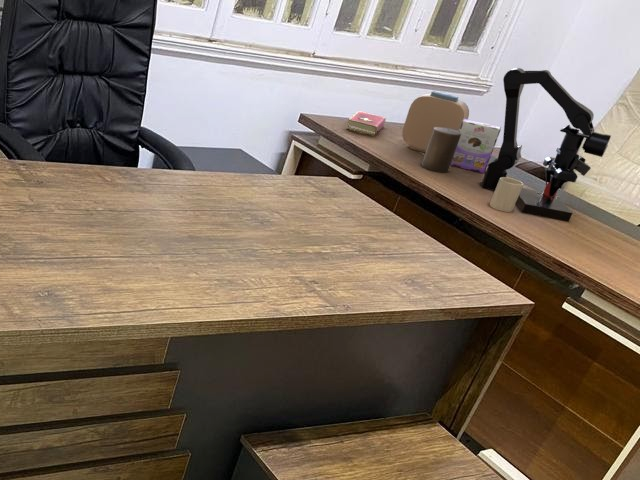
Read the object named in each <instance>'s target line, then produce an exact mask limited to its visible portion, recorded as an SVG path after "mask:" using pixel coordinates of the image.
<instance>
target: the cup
mask: <svg viewBox="0 0 640 480" xmlns="http://www.w3.org/2000/svg"><path fill="white" fill-rule="evenodd" d="M522 188H524V182H523V181H521V180H519V179H516V178H512V177H509V176H506V177H501V178H500V179H499V182H498V184H497V187H496V189H495V190H494V192H493V194H492V196H491V199H490V202H489V207H491V208H492V209H494V210H497V211H500V212H506V213H512V212H513V211H514V208H515V207H516V202H517V199H518V197H519V194H520V192H521V190H522Z"/></svg>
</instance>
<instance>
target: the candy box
mask: <svg viewBox="0 0 640 480" xmlns="http://www.w3.org/2000/svg"><path fill="white" fill-rule="evenodd" d="M501 130H502V126H499V125H494V124H491V123H485V122H482V121H477V120H472V119H469V118H468V119H463V121H462V123H461V126H460V129H459V132H460V133H461V136H460V139H459V142H458V145H457V147H456V150H455V153H454V156H453V159H452V162H451V165H450V167H451V166H453V167H456V168H460V169H465V170H469V171H473V172H476V173H477V172H478V173H482V174H485V173H486V170H487V167H488V164H489V163H490V159H491V157H492V154H493V152H494V149H495V146H496V144H497V141H498V138H499V135H500V133H501Z"/></svg>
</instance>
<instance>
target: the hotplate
mask: <svg viewBox="0 0 640 480" xmlns="http://www.w3.org/2000/svg"><path fill="white" fill-rule="evenodd" d="M543 192H544V191H541V190H538V189H537V190H535V189H531V188H525V187H522V190H521V192H520V194H519V197H518V199H517V202H516V204H515V206H516V207H517V208H518V209H519V211H520V212H521V213H522V214H527V215H532V216H538V217H542V218H547V219H552V220H558V221H562V222H567V223H569V222H570V221H571V218H572V216H573V212H572V211H571V209H570V208H569V207H568V206H567V204H565V202H564V201H563V200H562V197H561V196H558V194H556V196H555V197H548V196H545V195H543Z"/></svg>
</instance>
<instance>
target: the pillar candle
mask: <svg viewBox="0 0 640 480" xmlns="http://www.w3.org/2000/svg"><path fill="white" fill-rule="evenodd" d="M460 136H461V133H460V132H459V131H456V130H453V129H449V128H444V127H434V130H433V133H432V136H431V139H430V142H429V144H428V147H427V150H426V153H425V154H424V157H423V160H422V162H421V166H422V167H423V168H425V169H428V170H430V171H433V172H439V173H448V172H449V171H450V167H451V162H452V159H453V156H454V153H455V150H456V147H457V145H458V142H459V139H460Z"/></svg>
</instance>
